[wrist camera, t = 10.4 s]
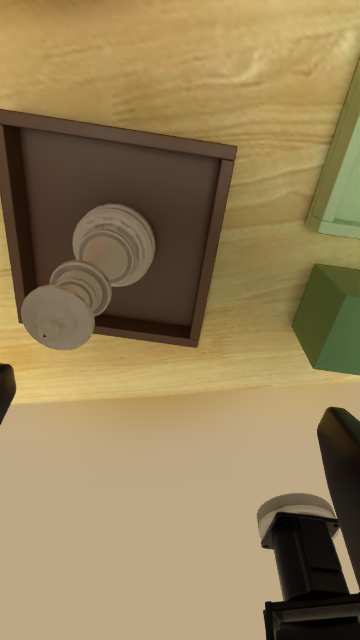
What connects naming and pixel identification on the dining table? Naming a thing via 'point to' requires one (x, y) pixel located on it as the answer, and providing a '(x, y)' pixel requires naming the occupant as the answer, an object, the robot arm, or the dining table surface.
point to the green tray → (341, 175)
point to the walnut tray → (116, 187)
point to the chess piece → (90, 276)
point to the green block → (331, 319)
